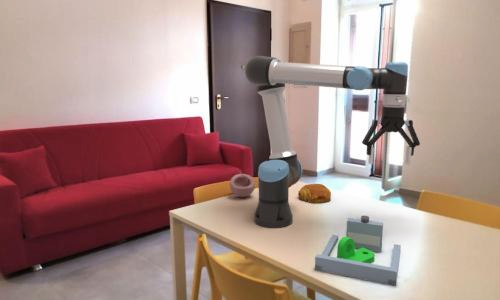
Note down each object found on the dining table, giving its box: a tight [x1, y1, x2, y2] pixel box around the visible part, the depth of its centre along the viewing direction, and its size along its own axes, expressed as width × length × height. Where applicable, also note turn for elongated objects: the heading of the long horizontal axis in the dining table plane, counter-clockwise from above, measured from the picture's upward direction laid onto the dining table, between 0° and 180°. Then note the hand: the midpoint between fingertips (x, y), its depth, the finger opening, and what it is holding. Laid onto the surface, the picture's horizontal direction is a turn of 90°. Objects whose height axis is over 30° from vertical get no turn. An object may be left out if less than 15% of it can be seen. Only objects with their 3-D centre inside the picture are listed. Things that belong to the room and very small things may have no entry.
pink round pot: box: [229, 173, 256, 198], centre depth 178 cm, size 12×12×12 cm
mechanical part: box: [336, 235, 376, 264], centre depth 112 cm, size 12×6×8 cm, turn 125°
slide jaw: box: [345, 215, 384, 253], centre depth 121 cm, size 11×3×11 cm, turn 66°
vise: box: [314, 234, 401, 286], centre depth 114 cm, size 22×24×4 cm
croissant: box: [297, 183, 332, 204], centre depth 174 cm, size 14×16×8 cm
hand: (389, 164), depth 138 cm, fingers open, 13 cm apart
